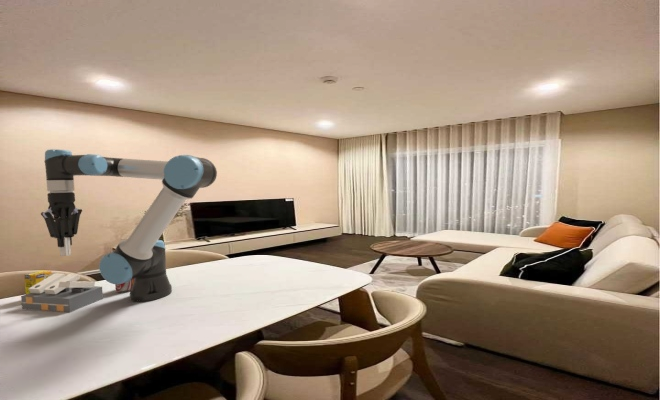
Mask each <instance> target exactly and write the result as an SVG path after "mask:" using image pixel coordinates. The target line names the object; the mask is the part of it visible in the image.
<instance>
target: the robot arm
mask: <svg viewBox="0 0 660 400" xmlns="http://www.w3.org/2000/svg"><path fill="white" fill-rule="evenodd" d="M44 166H45V177H46V192H48V193H47V203H48V207H47V210H46V211H44V212H43V211H41V212H40V215H41V216H42V218H43V219H44V221H45V223H46V227H47V230H48V234H49V236H50V238H53V239H56V241H57V242H56V243H57V247H58V248H59V255H60V256H71V255H72V250H71V246H72V245H73V240H72V238H73V237H75V235H77V234H78V230H79V224H80V218H81V215H82V212H83V210H82V209H81V208H80V209H79V208H77V207H76V205H75V201H76V196H75V194H76V193H74V192H73V191H75V182H74V181H75V179H74V177H75V176H91V177H92V176H95V177H118V178H119V177H120V178H121V177H122V178H135V179H136V178H137V179H151V180H161V185H162V189H161V190H160V191H159V193H158V195H157V196H156V198H155V199H154V200H153V202H152V203H151V205H150V206H149V207H148V209H147V210H146V212H145V213H144V214H143V216H142V217H141V219H140V220H139V222H138V223H137V225H136V226H135V227H134V229H133V231H132V232H131V234H130V235H129V236H128V238H126V239H121V241H119V243H118V244H117V246H116V247H115V248H114V250H113V251H112V252H108V253H107V254H105V255H103V256H102V258H100V261H99V264H98V271H100V275H101V277H102V278H103V279H104V280H105V281H106V282H108V283H110V284H112V285H115V284H122V283H126V282H128V281H130V280H132V279H134V281H133V284H132V288H131V291H129V299H130V301H133V302H147V301H148V302H149V301H153V300H157V299H162V298H164V297H167V296H169V295H170V294H171V293H172V292H173V288H172V283H170V280H169V278H168V275H167V261H166V246H165V242H164V241H163V240H162V239H160V238H161V236H162V235H163V233H164V232H165V231H166V229H167V228H168V226H169V225H170V224H171V223H172V220H173V219H174V217H175V216H176V215H177V213H178V212H179V211H180V209H181V208H182V206H183V205H184V203H185V202H186V201H187V200H190V199H193V198H194V196H195V195H196V194H197V193H198V191H199V190H200V189H202V188H208V187H209V186H211V185H212V184H213V183H215V181H216V179H217V175H218V171H217V167H216V166H215V165H214V163H213V162H212V161H210V160H209V159H207V158H205V157H198V156H193V155H190V154H183V155H182V154H181V155H176V156H173V157H172V158H170V159H169V160H167V161H166V160H165V161H164V160H150V159H134V158H120V157H107V156H102V155H100V154H91V153H89V154H73V153H72V151H71V150H68V149H47V150H45V152H44Z"/></svg>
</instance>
